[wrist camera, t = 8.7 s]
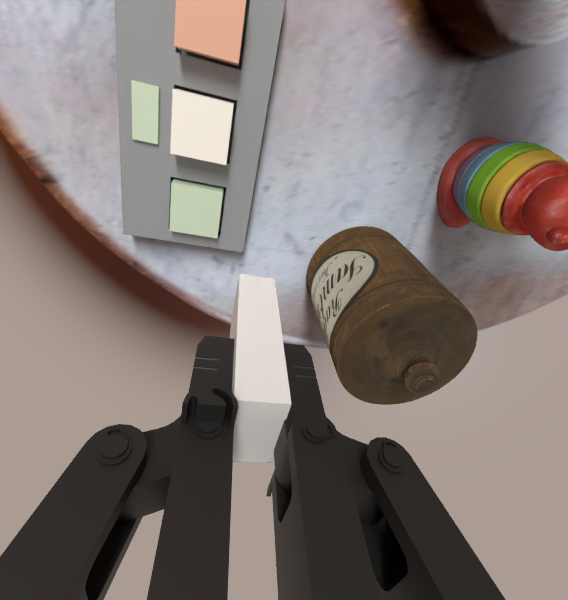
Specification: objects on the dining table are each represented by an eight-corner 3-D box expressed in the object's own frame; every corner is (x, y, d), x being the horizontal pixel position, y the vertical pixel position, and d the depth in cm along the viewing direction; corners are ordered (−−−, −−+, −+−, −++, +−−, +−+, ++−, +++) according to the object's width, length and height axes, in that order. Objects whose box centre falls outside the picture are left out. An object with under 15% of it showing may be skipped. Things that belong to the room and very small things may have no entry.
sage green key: (175, 176, 37) (171, 182, 34) (224, 185, 38) (222, 192, 35) (173, 221, 39) (169, 230, 37) (218, 229, 41) (217, 238, 38)
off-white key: (177, 88, 31) (172, 88, 29) (234, 103, 32) (233, 104, 30) (175, 148, 34) (170, 153, 31) (227, 160, 35) (226, 165, 33)
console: (123, -72, 27) (109, -91, 24) (285, -16, 30) (290, -27, 27) (130, 225, 40) (122, 235, 37) (242, 243, 43) (242, 253, 40)
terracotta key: (183, -31, 27) (177, -43, 24) (247, -9, 28) (248, -19, 26) (179, 49, 30) (174, 45, 27) (238, 65, 31) (238, 63, 28)
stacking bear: (446, 231, 46) (545, 299, 31) (422, 170, 41) (527, 215, 26) (521, 186, 43) (668, 235, 29) (505, 114, 38) (674, 128, 23)
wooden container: (315, 221, 43) (372, 318, 24) (417, 229, 45) (540, 324, 27) (298, 313, 51) (332, 439, 32) (387, 316, 53) (465, 435, 35)
